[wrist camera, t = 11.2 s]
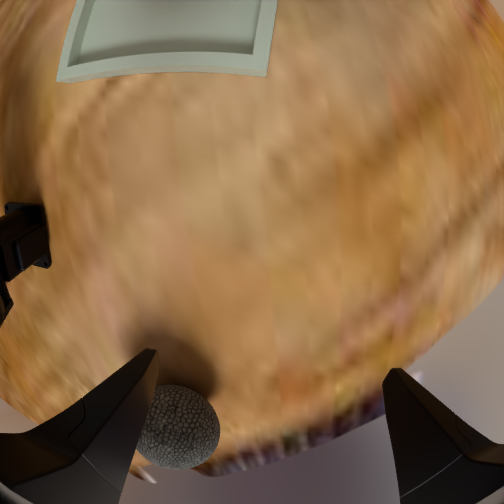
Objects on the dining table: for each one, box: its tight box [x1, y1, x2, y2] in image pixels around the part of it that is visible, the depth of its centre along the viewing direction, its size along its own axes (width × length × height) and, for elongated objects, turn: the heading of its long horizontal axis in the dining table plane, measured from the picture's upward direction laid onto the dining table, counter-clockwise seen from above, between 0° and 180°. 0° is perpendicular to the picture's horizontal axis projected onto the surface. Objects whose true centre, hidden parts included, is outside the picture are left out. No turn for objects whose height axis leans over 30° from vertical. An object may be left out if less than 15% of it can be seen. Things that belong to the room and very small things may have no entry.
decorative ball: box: [136, 385, 220, 470], centre depth 24 cm, size 10×10×10 cm
